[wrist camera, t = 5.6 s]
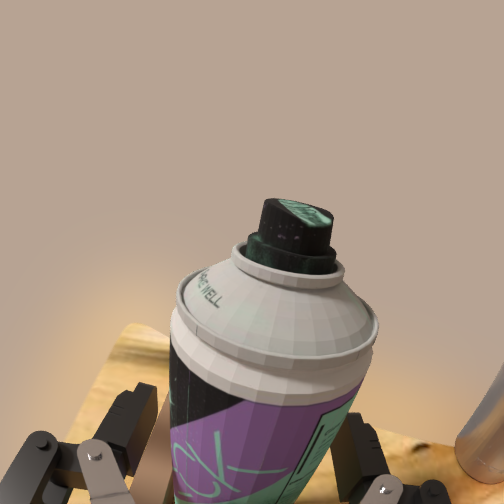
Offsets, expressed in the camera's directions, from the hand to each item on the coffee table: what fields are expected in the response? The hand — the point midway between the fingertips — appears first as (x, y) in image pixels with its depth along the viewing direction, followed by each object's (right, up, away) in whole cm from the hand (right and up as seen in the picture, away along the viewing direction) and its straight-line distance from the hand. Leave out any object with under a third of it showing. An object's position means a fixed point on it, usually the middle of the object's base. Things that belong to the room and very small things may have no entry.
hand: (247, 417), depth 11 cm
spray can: (-2, -11, +1) cm, 11 cm away
